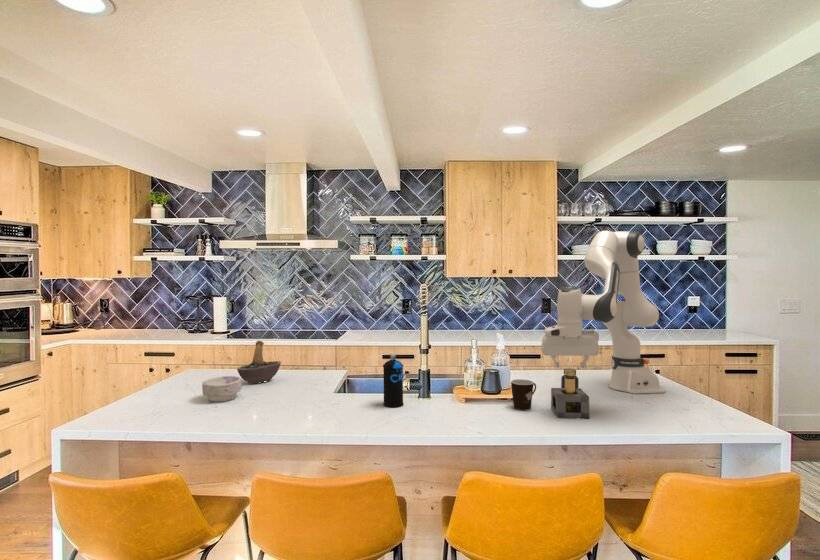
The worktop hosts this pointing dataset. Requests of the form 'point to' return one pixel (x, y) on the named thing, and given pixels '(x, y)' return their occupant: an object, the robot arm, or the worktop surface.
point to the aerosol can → (393, 383)
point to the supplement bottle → (564, 379)
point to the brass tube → (570, 387)
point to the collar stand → (561, 398)
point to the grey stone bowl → (221, 388)
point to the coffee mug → (522, 393)
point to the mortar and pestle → (259, 367)
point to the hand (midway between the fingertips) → (569, 367)
